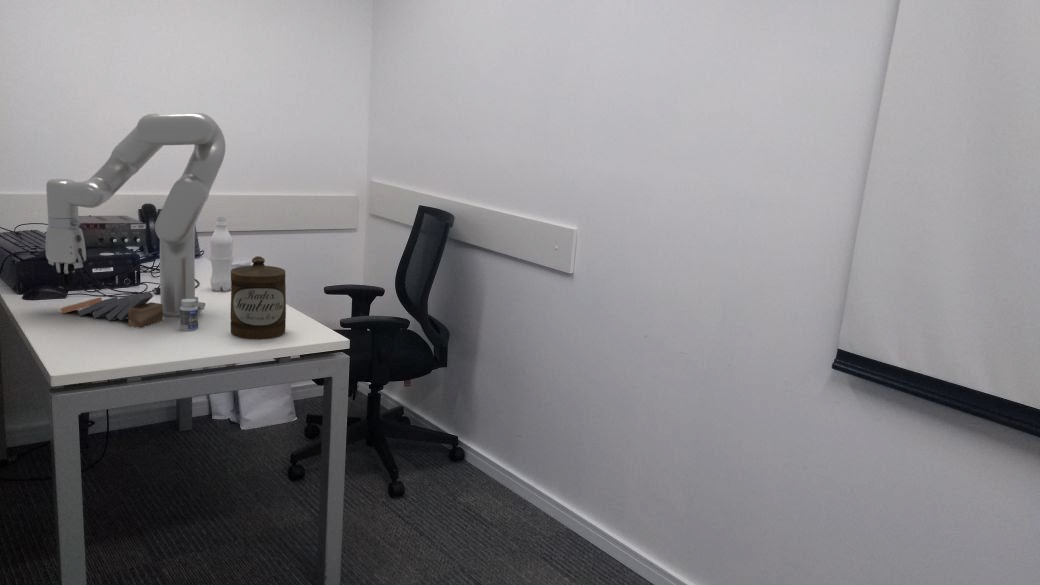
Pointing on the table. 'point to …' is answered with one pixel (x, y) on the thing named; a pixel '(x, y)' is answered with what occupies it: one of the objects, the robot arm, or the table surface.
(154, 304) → the brown wooden block
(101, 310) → the domino
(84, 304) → the domino
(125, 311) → the domino
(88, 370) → the table surface
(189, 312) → the pill bottle
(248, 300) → the wooden container
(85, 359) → the table surface
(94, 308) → the domino
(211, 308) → the table surface
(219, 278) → the water bottle
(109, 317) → the domino
